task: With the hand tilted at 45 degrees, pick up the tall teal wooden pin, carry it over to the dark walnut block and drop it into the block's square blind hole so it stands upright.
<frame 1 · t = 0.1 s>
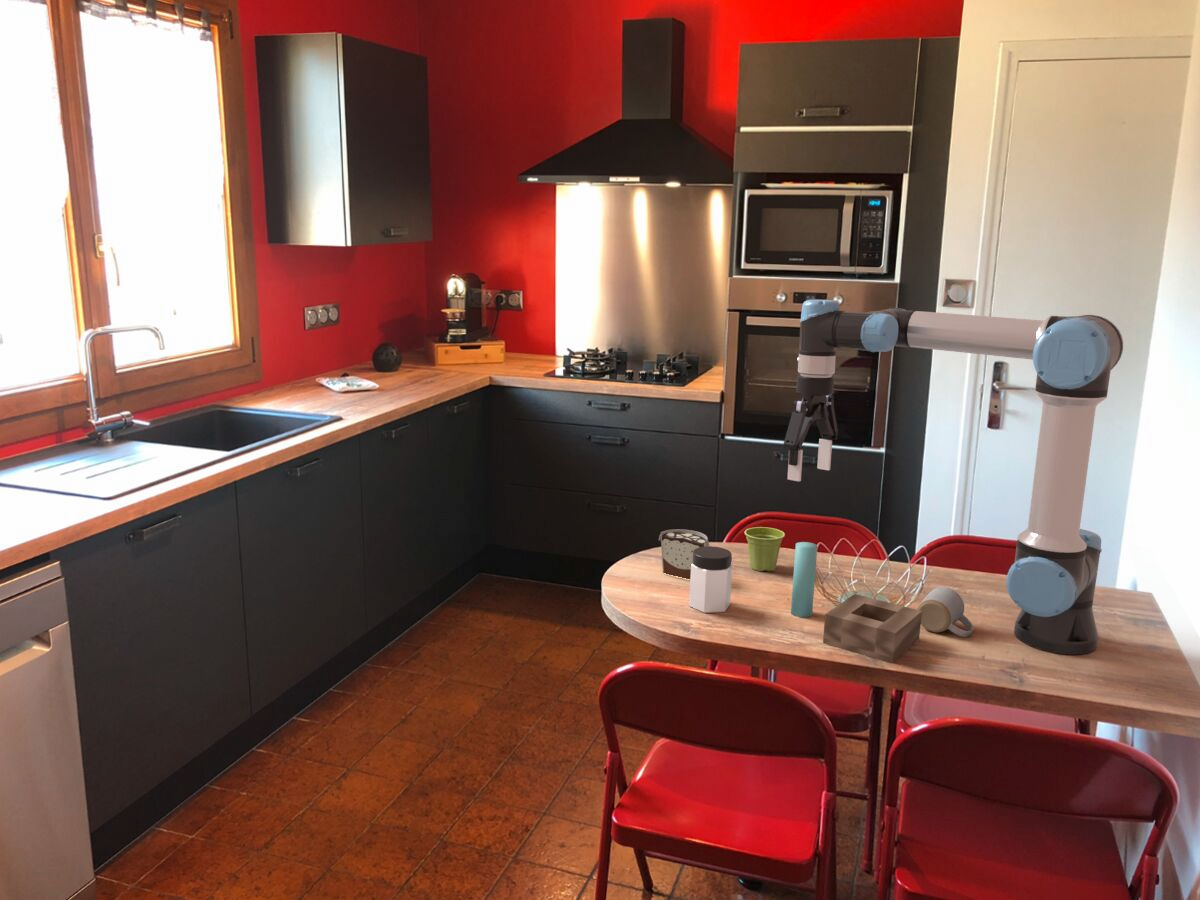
hand: (809, 474, 209), 28 cm above the table, tool pointing down, fingers open, 13 cm apart
hole block: (871, 641, 194), on the table
jar: (709, 606, 210), on the table
plant pot: (762, 568, 235), on the table
food container: (686, 575, 229), on the table
pin: (801, 613, 207), on the table
ceramic mug: (944, 629, 201), on the table
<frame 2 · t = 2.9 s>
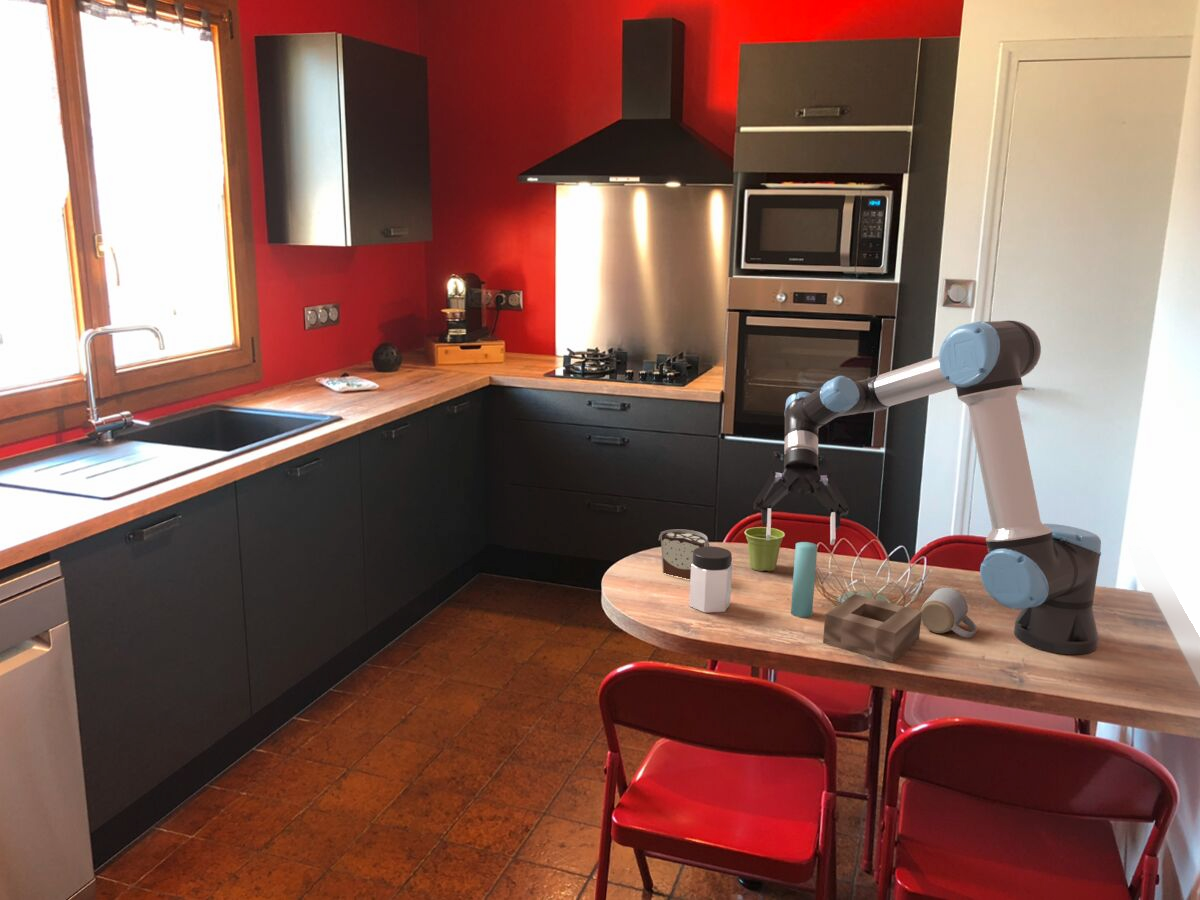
hand: (800, 540, 211), 14 cm above the table, tool tilted 45°, fingers open, 13 cm apart
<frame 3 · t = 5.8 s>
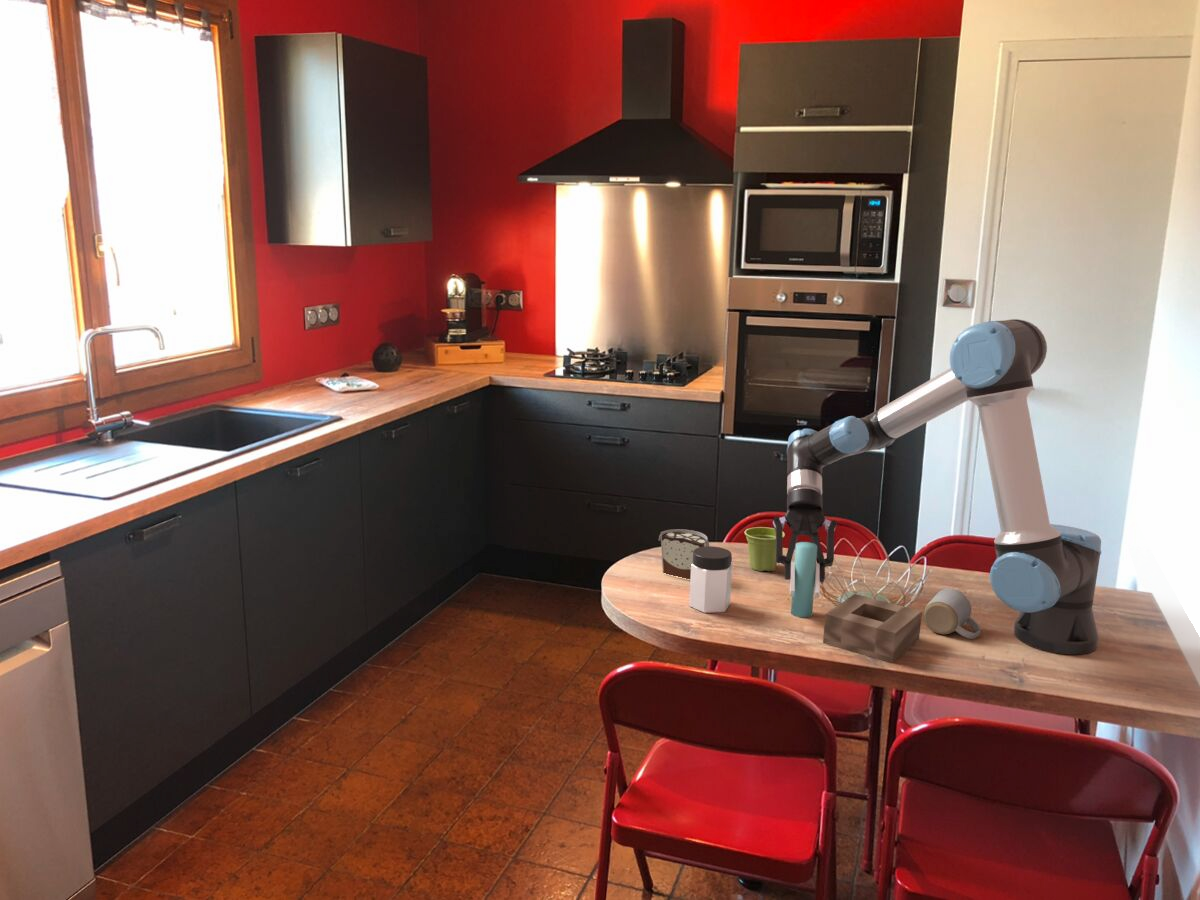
hand: (804, 594, 202), 6 cm above the table, tool tilted 45°, fingers closed on pin, 4 cm apart
pin: (801, 613, 207), on the table, touching gripper
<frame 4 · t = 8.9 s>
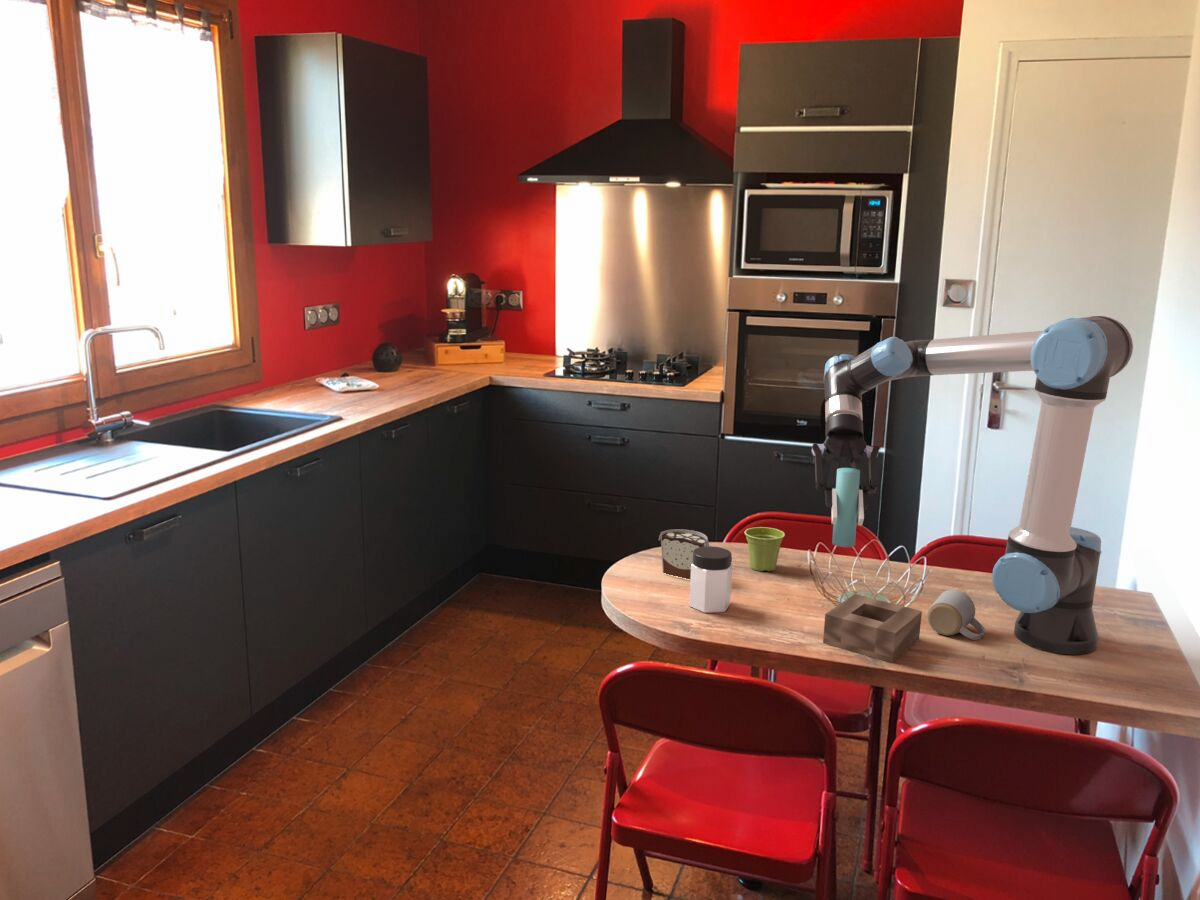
hand: (847, 521, 192), 24 cm above the table, tool tilted 45°, fingers closed on pin, 4 cm apart
pin: (843, 543, 196), point 18 cm above the table, touching gripper
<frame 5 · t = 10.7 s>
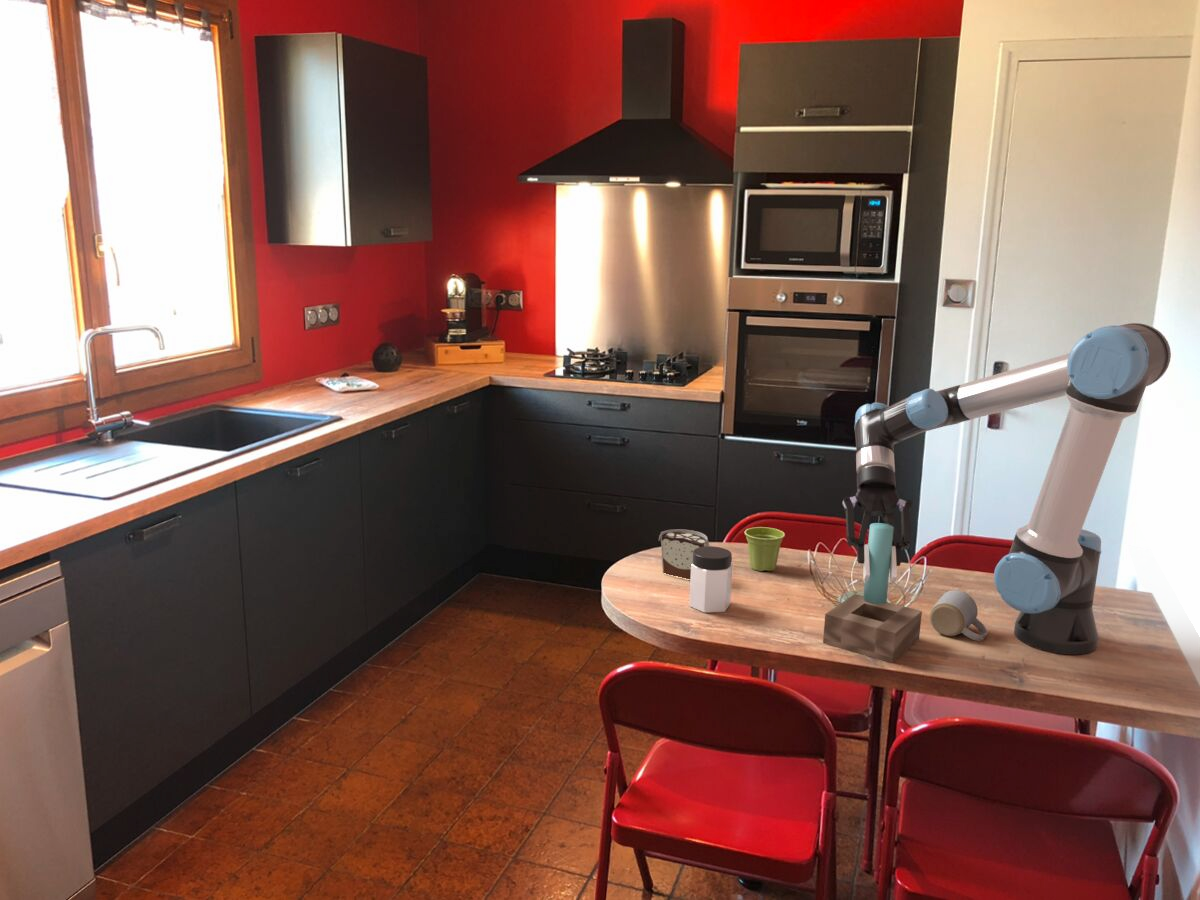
hand: (880, 579, 187), 14 cm above the table, tool tilted 45°, fingers closed on pin, 4 cm apart
pin: (874, 600, 192), point 9 cm above the table, touching gripper
when the fingers open (9 cm above the table, at t = 12.2 s): pin drops 2 cm, resting on hole block.
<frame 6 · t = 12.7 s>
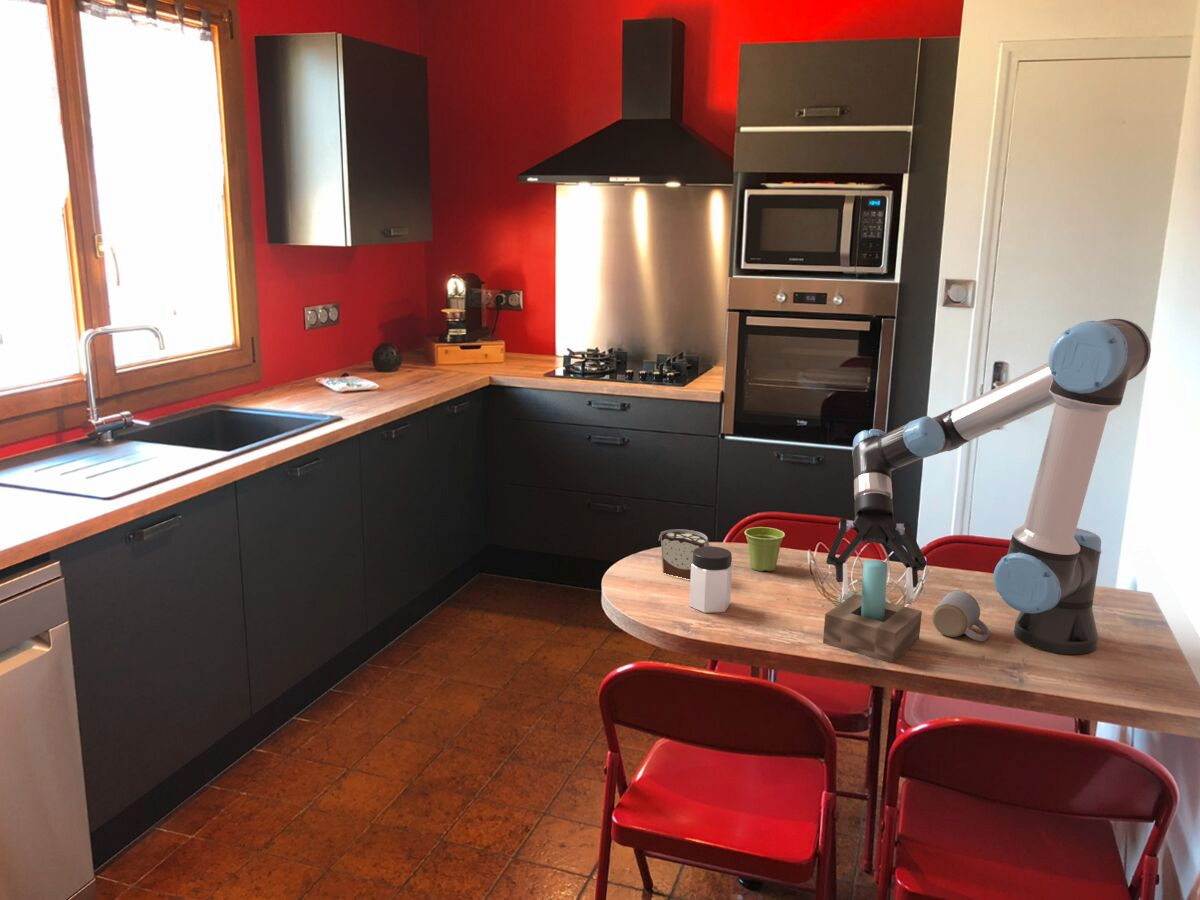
hand: (877, 599, 189), 10 cm above the table, tool tilted 45°, fingers open, 11 cm apart
pin: (871, 635, 194), point 1 cm above the table, touching hole block
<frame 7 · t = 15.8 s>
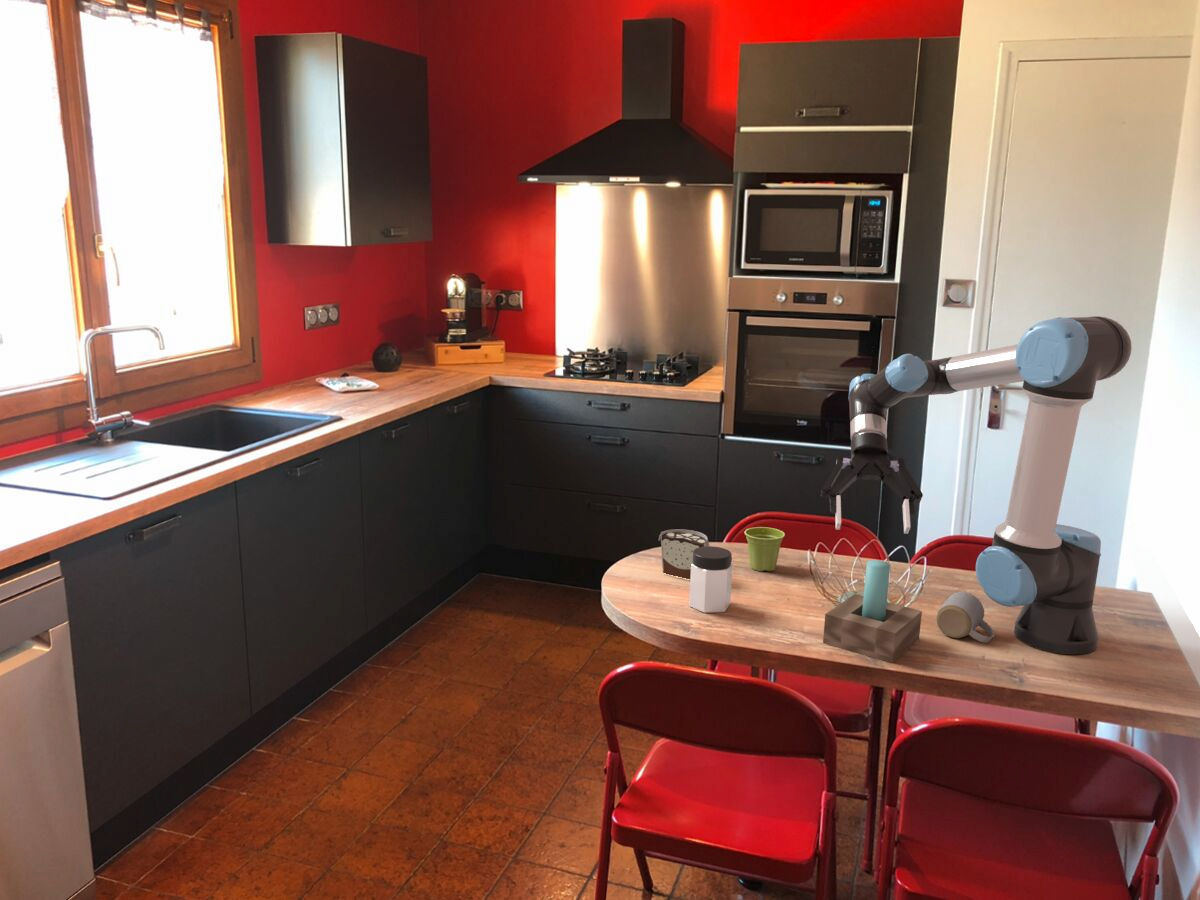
hand: (872, 528, 200), 20 cm above the table, tool tilted 45°, fingers open, 13 cm apart
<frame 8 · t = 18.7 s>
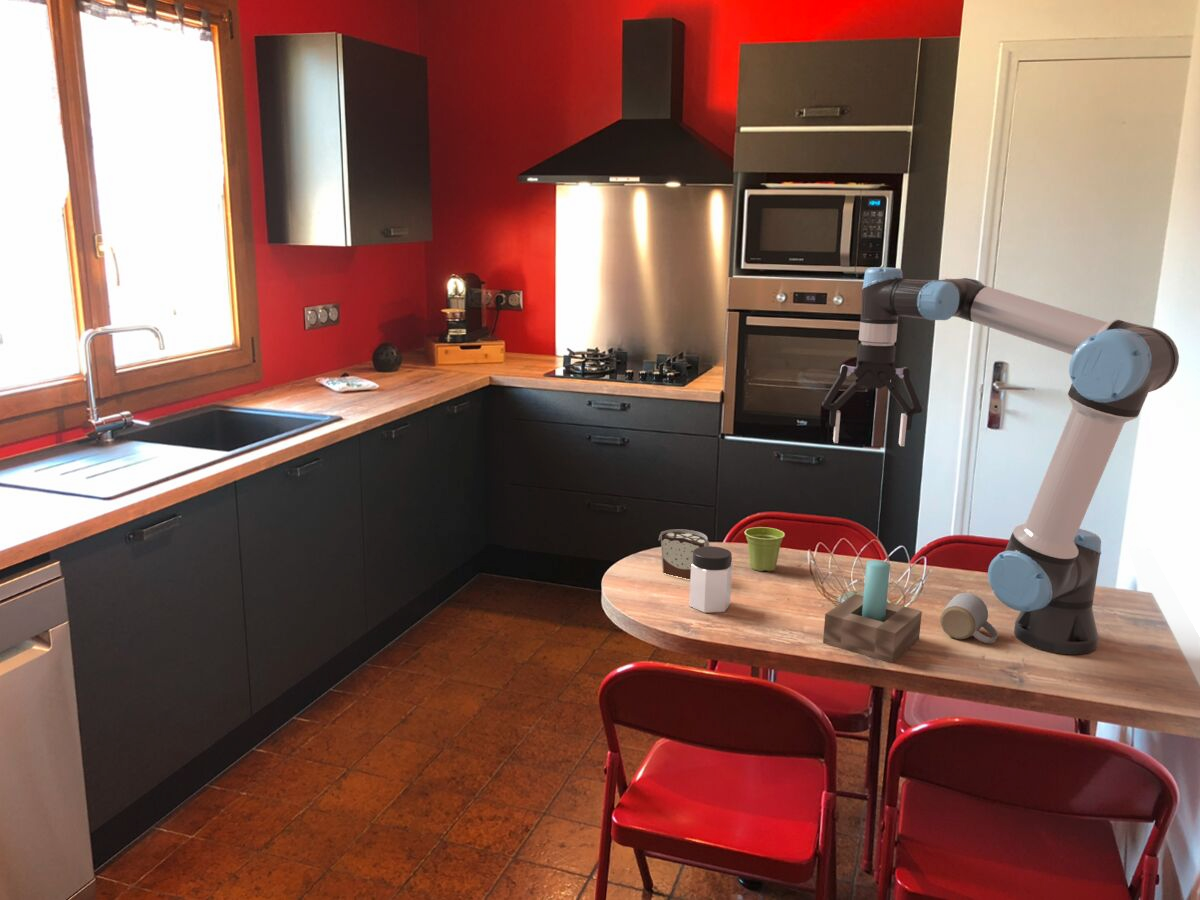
hand: (868, 443, 209), 35 cm above the table, tool pointing down, fingers open, 13 cm apart
at the end: pin 0.0 cm off-centre on the hole block, point 1.0 cm above the hole block's base; pin tilted 0°; the gripper is holding nothing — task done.
